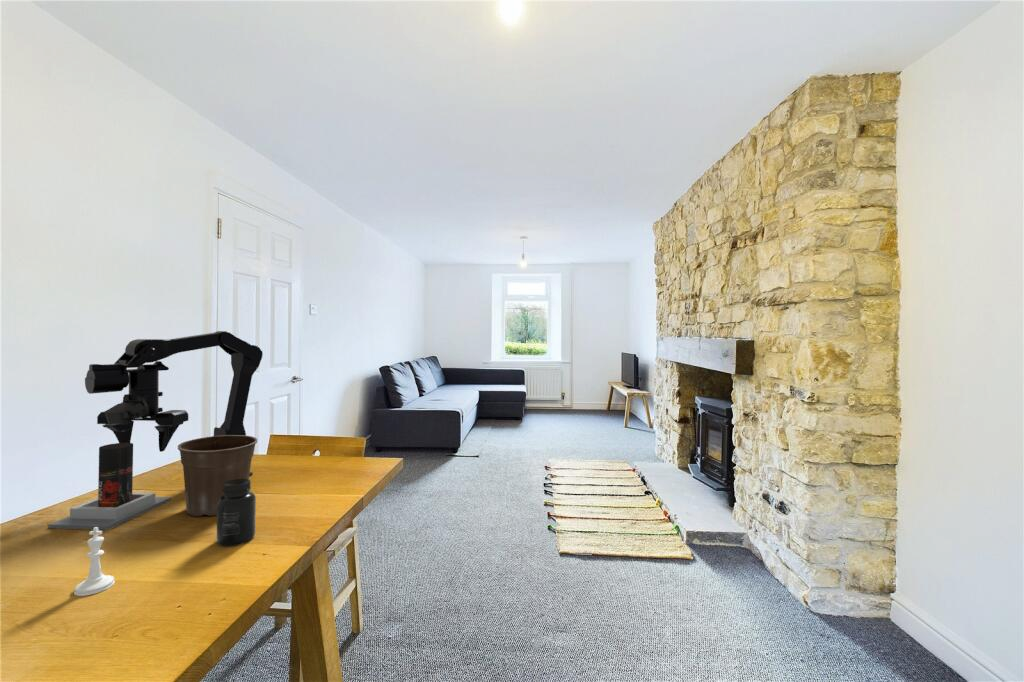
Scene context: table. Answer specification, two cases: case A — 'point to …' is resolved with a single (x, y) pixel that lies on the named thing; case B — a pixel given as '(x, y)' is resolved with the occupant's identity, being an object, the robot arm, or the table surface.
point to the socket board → (108, 513)
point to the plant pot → (213, 468)
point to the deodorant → (115, 474)
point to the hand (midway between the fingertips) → (143, 451)
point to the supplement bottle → (236, 513)
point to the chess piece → (94, 569)
